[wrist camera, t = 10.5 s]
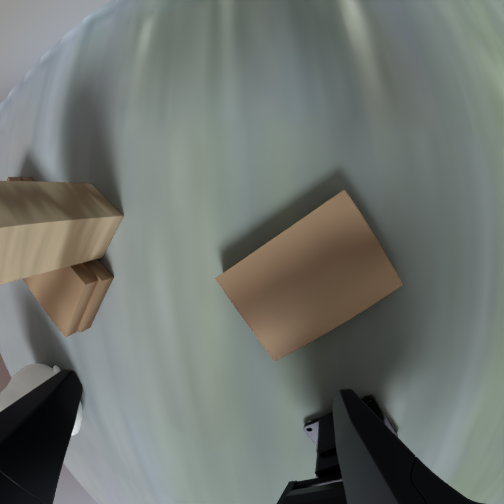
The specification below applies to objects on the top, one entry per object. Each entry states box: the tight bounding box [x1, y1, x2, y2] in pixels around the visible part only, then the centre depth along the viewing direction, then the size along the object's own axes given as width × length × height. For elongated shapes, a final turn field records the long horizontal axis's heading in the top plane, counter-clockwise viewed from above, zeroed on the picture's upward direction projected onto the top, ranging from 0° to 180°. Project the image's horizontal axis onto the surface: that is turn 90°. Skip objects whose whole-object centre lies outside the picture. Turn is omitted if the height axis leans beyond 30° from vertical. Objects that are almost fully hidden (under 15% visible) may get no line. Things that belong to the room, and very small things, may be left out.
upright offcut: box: [0, 181, 124, 285], centre depth 17 cm, size 5×4×12 cm
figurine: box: [0, 363, 83, 435], centre depth 22 cm, size 10×10×12 cm
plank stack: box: [7, 177, 114, 337], centre depth 23 cm, size 17×7×3 cm, turn 53°
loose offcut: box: [215, 189, 403, 361], centre depth 18 cm, size 7×10×2 cm
